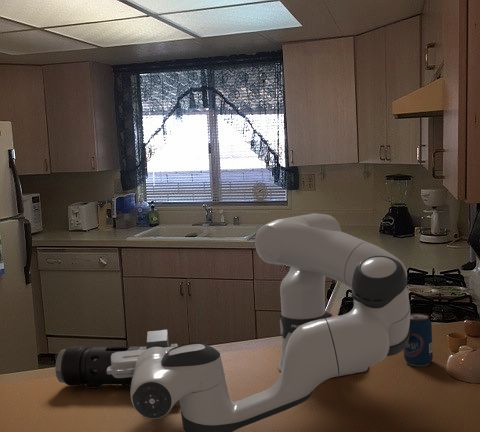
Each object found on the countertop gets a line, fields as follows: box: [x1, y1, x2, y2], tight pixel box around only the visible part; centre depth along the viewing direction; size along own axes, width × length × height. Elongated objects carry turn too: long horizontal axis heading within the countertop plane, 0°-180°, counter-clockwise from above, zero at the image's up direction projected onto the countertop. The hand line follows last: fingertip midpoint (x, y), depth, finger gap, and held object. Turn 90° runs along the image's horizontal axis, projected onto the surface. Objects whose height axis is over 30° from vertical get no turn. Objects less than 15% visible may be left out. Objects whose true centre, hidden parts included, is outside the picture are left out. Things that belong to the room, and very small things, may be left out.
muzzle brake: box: [54, 345, 171, 388], centre depth 144 cm, size 10×28×10 cm, turn 82°
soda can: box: [403, 312, 434, 367], centre depth 146 cm, size 7×7×12 cm
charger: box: [146, 329, 170, 349], centre depth 133 cm, size 4×5×12 cm
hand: (159, 348), depth 133 cm, fingers open, 5 cm apart
